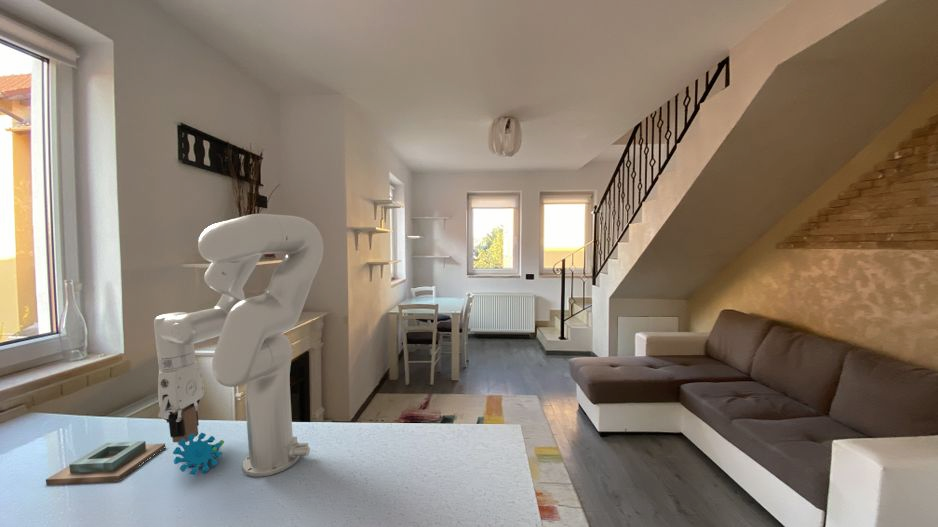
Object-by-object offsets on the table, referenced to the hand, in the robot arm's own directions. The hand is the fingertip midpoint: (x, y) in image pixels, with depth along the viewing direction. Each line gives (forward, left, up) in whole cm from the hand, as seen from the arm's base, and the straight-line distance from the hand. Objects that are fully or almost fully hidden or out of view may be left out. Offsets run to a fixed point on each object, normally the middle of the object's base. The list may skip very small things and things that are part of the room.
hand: (185, 430), depth 99 cm
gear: (-9, +7, -6) cm, 13 cm away
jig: (+15, +5, -6) cm, 17 cm away
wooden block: (0, 0, -2) cm, 2 cm away
